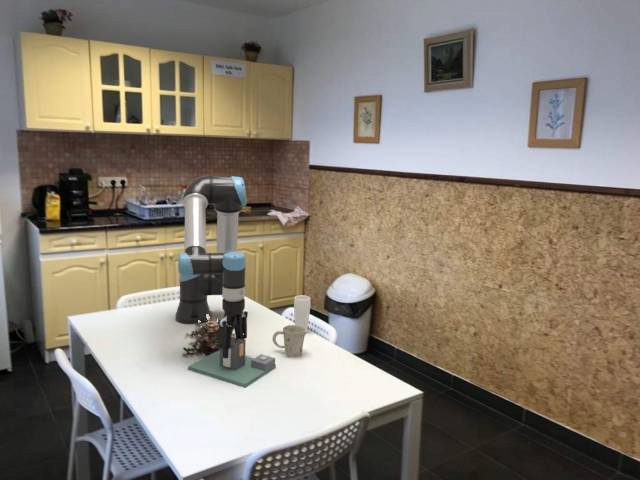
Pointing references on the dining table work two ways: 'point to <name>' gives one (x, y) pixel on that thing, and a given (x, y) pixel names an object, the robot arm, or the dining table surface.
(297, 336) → the mug
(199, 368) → the board
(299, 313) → the drinking glass
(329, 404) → the dining table surface
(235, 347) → the dark gray box
